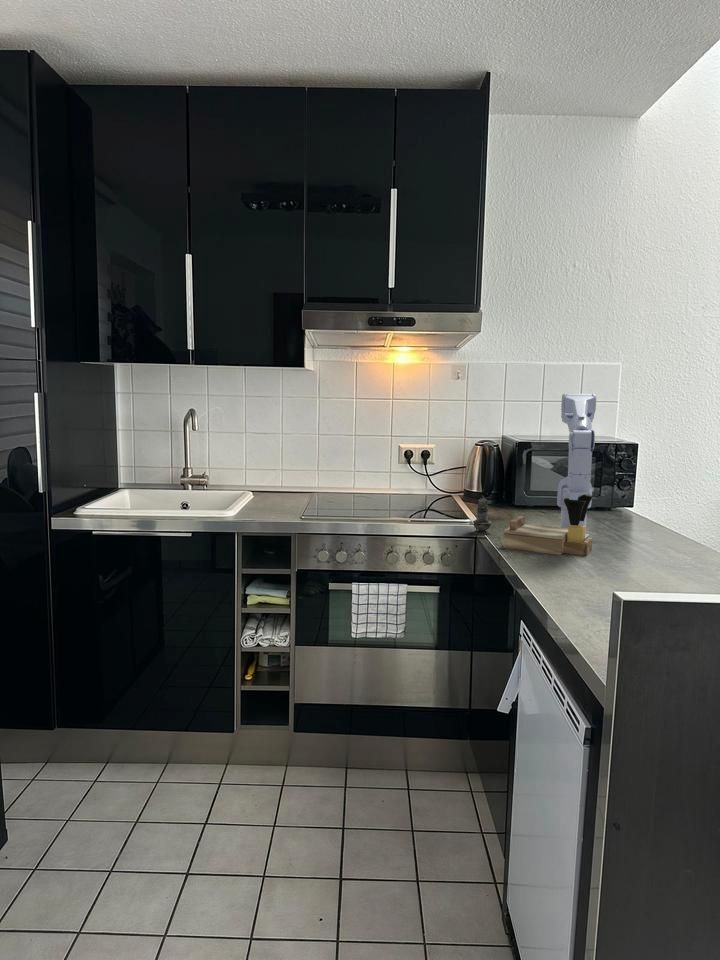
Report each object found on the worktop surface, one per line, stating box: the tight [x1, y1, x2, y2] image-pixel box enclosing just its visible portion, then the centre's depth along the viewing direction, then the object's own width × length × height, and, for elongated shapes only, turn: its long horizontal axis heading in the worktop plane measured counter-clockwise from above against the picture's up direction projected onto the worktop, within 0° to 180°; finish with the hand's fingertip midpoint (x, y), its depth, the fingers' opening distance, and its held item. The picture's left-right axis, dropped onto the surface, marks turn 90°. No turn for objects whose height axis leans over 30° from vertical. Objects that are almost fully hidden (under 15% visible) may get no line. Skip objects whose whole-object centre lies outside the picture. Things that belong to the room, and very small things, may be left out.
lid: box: [503, 515, 568, 540], centre depth 186 cm, size 13×16×3 cm
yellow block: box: [567, 525, 587, 543], centre depth 181 cm, size 4×4×7 cm
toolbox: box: [502, 532, 593, 556], centre depth 185 cm, size 13×22×4 cm, turn 61°
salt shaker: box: [472, 495, 492, 536], centre depth 204 cm, size 6×6×12 cm
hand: (577, 522), depth 180 cm, fingers open, 7 cm apart
